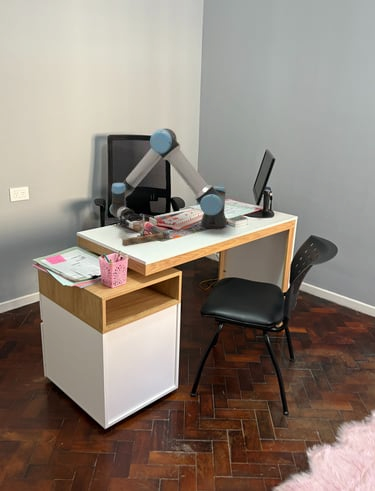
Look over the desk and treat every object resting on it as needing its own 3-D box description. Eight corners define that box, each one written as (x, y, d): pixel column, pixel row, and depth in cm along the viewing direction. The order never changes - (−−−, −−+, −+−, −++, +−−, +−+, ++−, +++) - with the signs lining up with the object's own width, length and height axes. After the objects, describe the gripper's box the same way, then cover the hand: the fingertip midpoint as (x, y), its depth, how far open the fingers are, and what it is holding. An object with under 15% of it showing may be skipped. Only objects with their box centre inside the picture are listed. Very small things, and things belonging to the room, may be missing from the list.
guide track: (154, 230, 243) (154, 225, 242) (169, 238, 230) (169, 233, 229) (110, 237, 229) (110, 231, 228) (124, 245, 216) (124, 240, 215)
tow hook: (146, 234, 237) (135, 237, 230) (147, 211, 234) (136, 213, 226) (158, 237, 233) (148, 240, 225) (160, 213, 229) (149, 216, 222)
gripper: (146, 218, 250) (165, 228, 233) (105, 224, 237) (122, 234, 220) (146, 205, 247) (165, 214, 230) (105, 210, 234) (122, 220, 217)
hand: (144, 224), depth 225 cm, fingers open, 13 cm apart
